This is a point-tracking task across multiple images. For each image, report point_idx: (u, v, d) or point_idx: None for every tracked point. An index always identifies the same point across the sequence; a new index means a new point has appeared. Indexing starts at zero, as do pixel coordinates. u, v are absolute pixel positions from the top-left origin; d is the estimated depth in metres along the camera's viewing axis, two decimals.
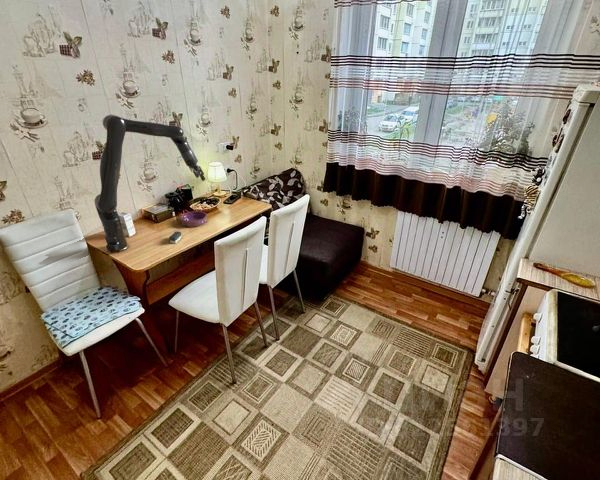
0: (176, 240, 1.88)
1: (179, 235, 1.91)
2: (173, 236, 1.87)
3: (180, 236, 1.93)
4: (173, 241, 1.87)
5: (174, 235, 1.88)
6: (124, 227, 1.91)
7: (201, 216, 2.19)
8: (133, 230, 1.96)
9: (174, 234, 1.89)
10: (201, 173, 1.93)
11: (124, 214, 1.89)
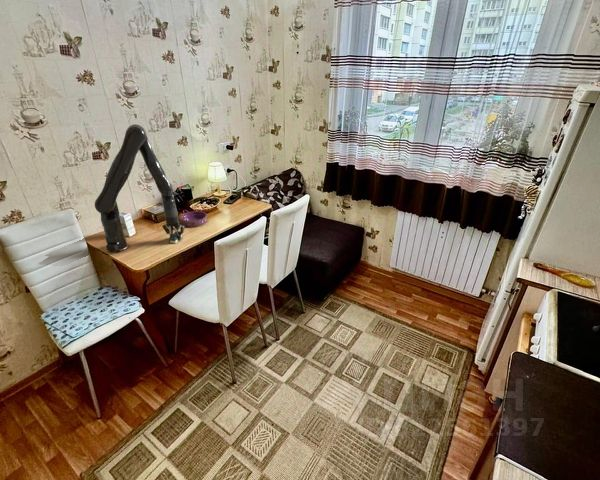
0: (176, 240, 1.88)
1: None
2: (173, 236, 1.87)
3: None
4: (173, 241, 1.87)
5: (174, 235, 1.88)
6: (124, 227, 1.91)
7: (201, 216, 2.19)
8: (133, 230, 1.96)
9: (174, 234, 1.89)
10: (179, 232, 1.88)
11: (124, 214, 1.89)
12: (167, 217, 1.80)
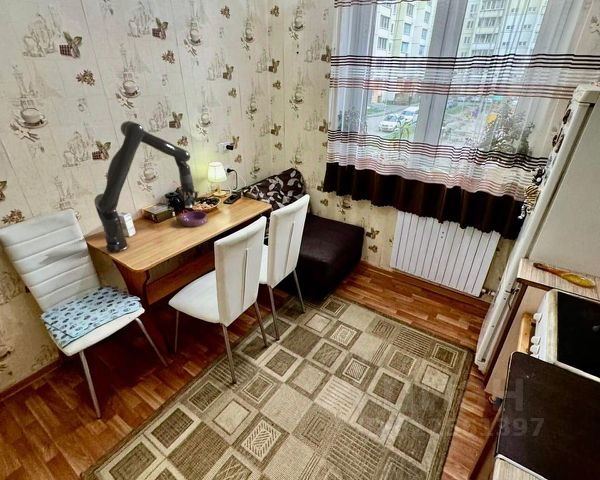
0: (191, 205, 2.03)
1: None
2: (188, 201, 2.02)
3: None
4: (188, 206, 2.02)
5: (189, 200, 2.03)
6: (124, 227, 1.91)
7: (201, 216, 2.19)
8: (133, 230, 1.96)
9: (189, 200, 2.04)
10: None
11: (124, 214, 1.89)
12: (183, 182, 1.95)
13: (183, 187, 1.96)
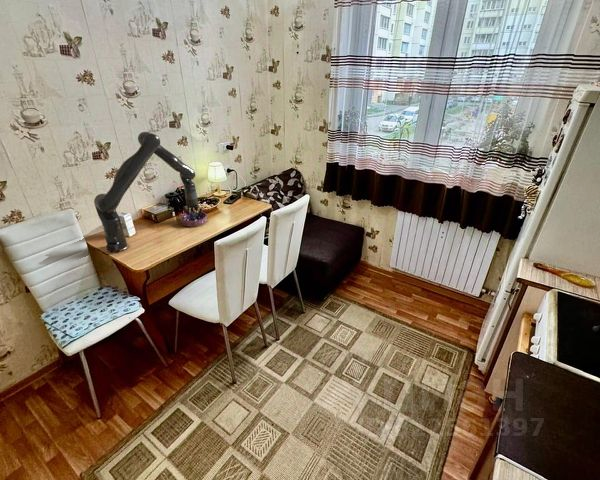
0: (195, 220, 2.12)
1: None
2: (193, 217, 2.10)
3: None
4: None
5: (193, 216, 2.11)
6: (124, 227, 1.91)
7: (201, 216, 2.19)
8: (133, 230, 1.96)
9: (193, 215, 2.13)
10: (198, 213, 2.12)
11: (124, 214, 1.89)
12: (188, 199, 2.03)
13: (188, 203, 2.05)
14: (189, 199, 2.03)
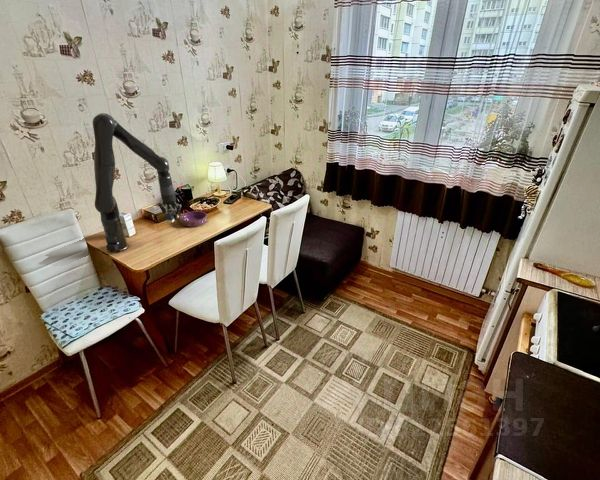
0: (173, 219, 1.82)
1: None
2: (169, 215, 1.81)
3: None
4: (170, 220, 1.81)
5: (171, 214, 1.82)
6: (124, 227, 1.91)
7: (201, 216, 2.19)
8: (133, 230, 1.96)
9: (171, 213, 1.83)
10: (176, 211, 1.83)
11: (124, 214, 1.89)
12: (163, 195, 1.74)
13: (164, 200, 1.76)
14: (164, 194, 1.74)
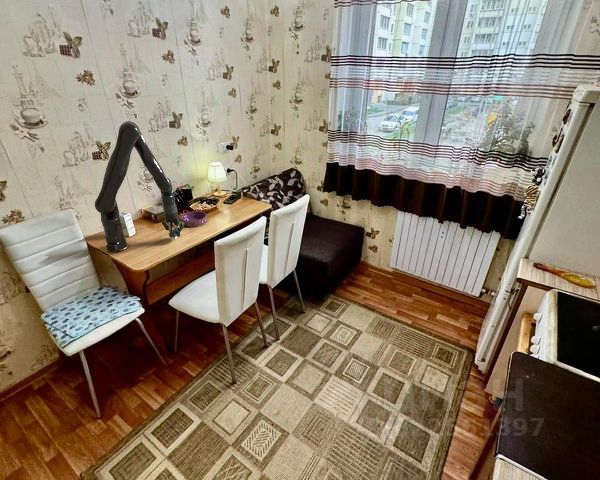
0: (176, 236, 1.87)
1: None
2: (172, 232, 1.86)
3: (180, 232, 1.91)
4: (173, 237, 1.86)
5: (173, 231, 1.87)
6: (124, 227, 1.91)
7: (201, 216, 2.19)
8: (133, 230, 1.96)
9: (173, 230, 1.88)
10: None
11: (124, 214, 1.89)
12: (166, 213, 1.79)
13: (167, 218, 1.80)
14: (167, 213, 1.78)
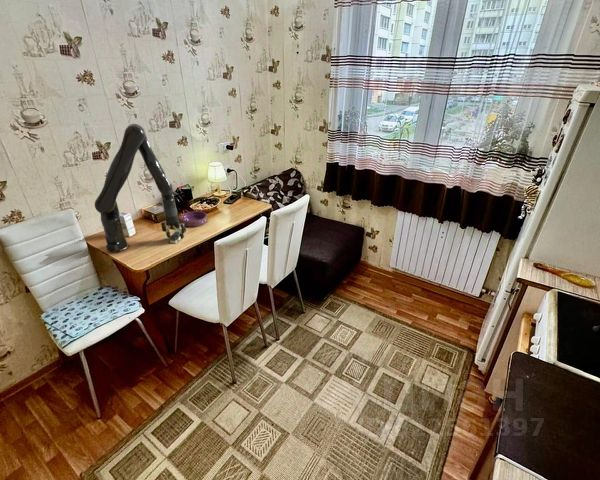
0: (176, 240, 1.88)
1: (179, 235, 1.91)
2: (173, 236, 1.87)
3: None
4: (173, 241, 1.87)
5: (174, 235, 1.88)
6: (124, 227, 1.91)
7: (201, 216, 2.19)
8: (133, 230, 1.96)
9: (174, 234, 1.89)
10: None
11: (124, 214, 1.89)
12: (167, 216, 1.80)
13: (167, 221, 1.81)
14: (168, 216, 1.79)
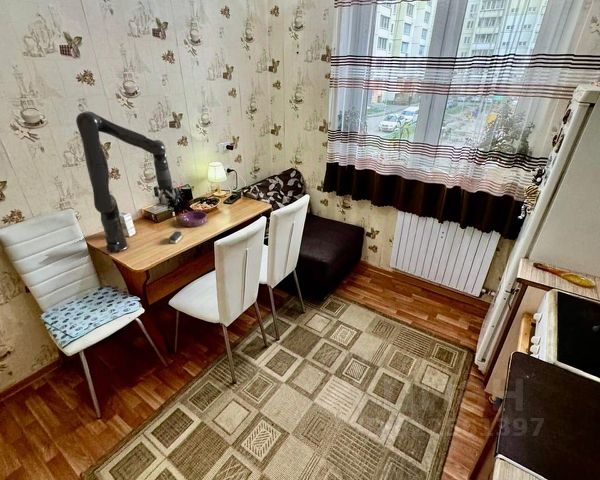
0: (176, 240, 1.88)
1: (179, 235, 1.91)
2: (173, 236, 1.87)
3: (180, 236, 1.93)
4: (173, 241, 1.87)
5: (174, 235, 1.88)
6: (124, 227, 1.91)
7: (201, 216, 2.19)
8: (133, 230, 1.96)
9: (174, 234, 1.89)
10: None
11: (124, 214, 1.89)
12: (159, 179, 1.69)
13: (160, 184, 1.70)
14: (160, 179, 1.69)
